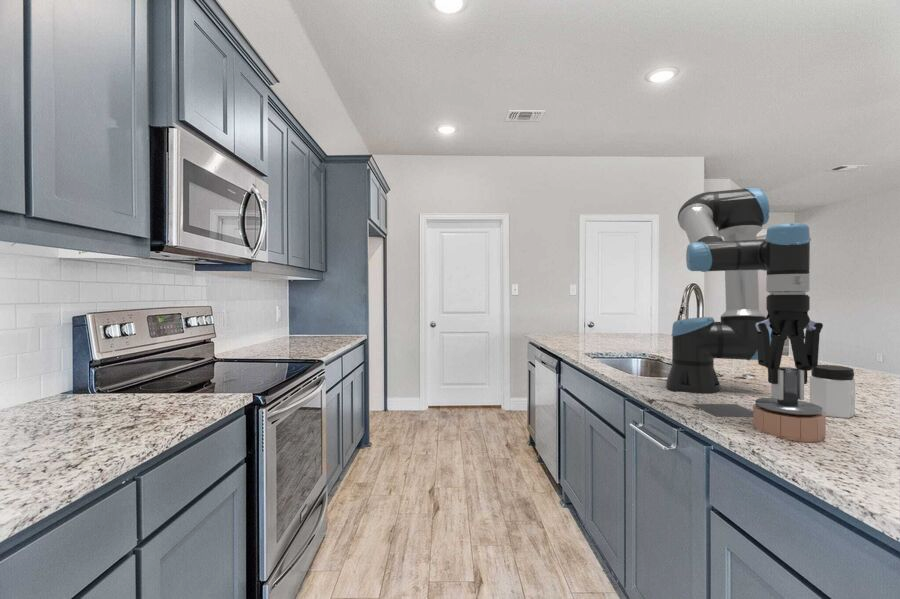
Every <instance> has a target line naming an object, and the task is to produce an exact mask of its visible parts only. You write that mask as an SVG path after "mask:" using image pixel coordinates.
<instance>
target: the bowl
mask: <svg viewBox="0 0 900 599" xmlns="http://www.w3.org/2000/svg"><path fill="white" fill-rule="evenodd" d="M752 411H753V417H752V425H753V428H754V429H756V430H757V431H760V432H763V433H766V434H768V435H772V436H775V437H776V438H775V439H778V438H780V439H779V440H783V439H786V440H785V441H788V440H791V441H790V442H796V441H799V442H798V443H819V442H820V441H821V442H823V441H824V440H825V437H826V421H827V420H826V417H827V416H825V415H824V414H823V413H821V414H817V415H798V414H788V413H781V412H776V411H771V410H767V409H764V408H761V407H758V406H757V405H756V403H755V404H752ZM792 440H793V441H792Z"/></svg>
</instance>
